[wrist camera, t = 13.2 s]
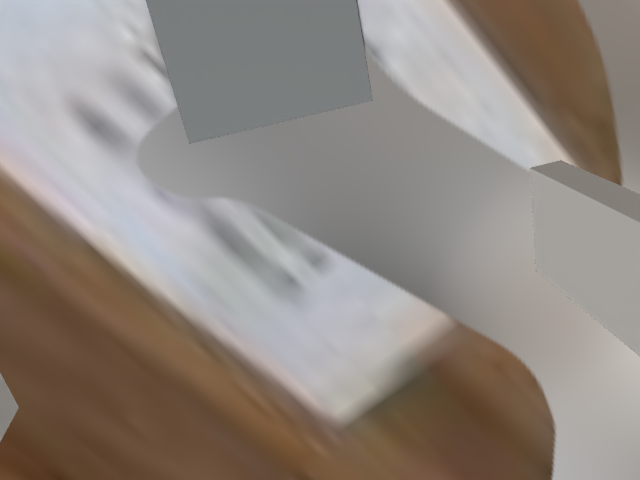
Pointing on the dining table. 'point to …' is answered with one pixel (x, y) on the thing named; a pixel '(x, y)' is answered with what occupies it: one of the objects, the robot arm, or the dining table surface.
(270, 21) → the mat
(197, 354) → the dining table surface
